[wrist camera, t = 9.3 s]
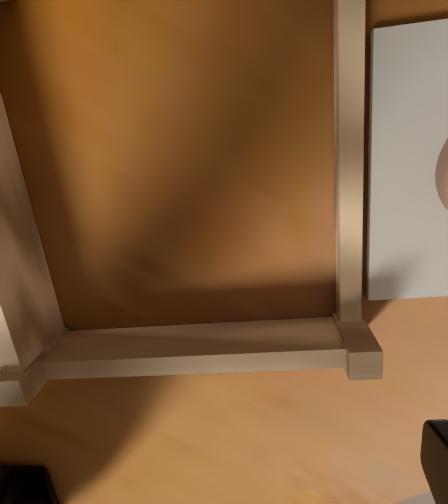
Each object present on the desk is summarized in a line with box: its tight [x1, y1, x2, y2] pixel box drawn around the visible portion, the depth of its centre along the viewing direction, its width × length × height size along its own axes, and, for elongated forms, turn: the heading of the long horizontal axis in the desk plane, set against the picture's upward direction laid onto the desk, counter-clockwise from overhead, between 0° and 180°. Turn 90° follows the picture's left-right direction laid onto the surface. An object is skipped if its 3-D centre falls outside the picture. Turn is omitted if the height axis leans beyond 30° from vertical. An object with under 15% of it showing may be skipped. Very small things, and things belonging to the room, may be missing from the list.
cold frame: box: [0, 0, 383, 407], centre depth 15 cm, size 18×17×5 cm
